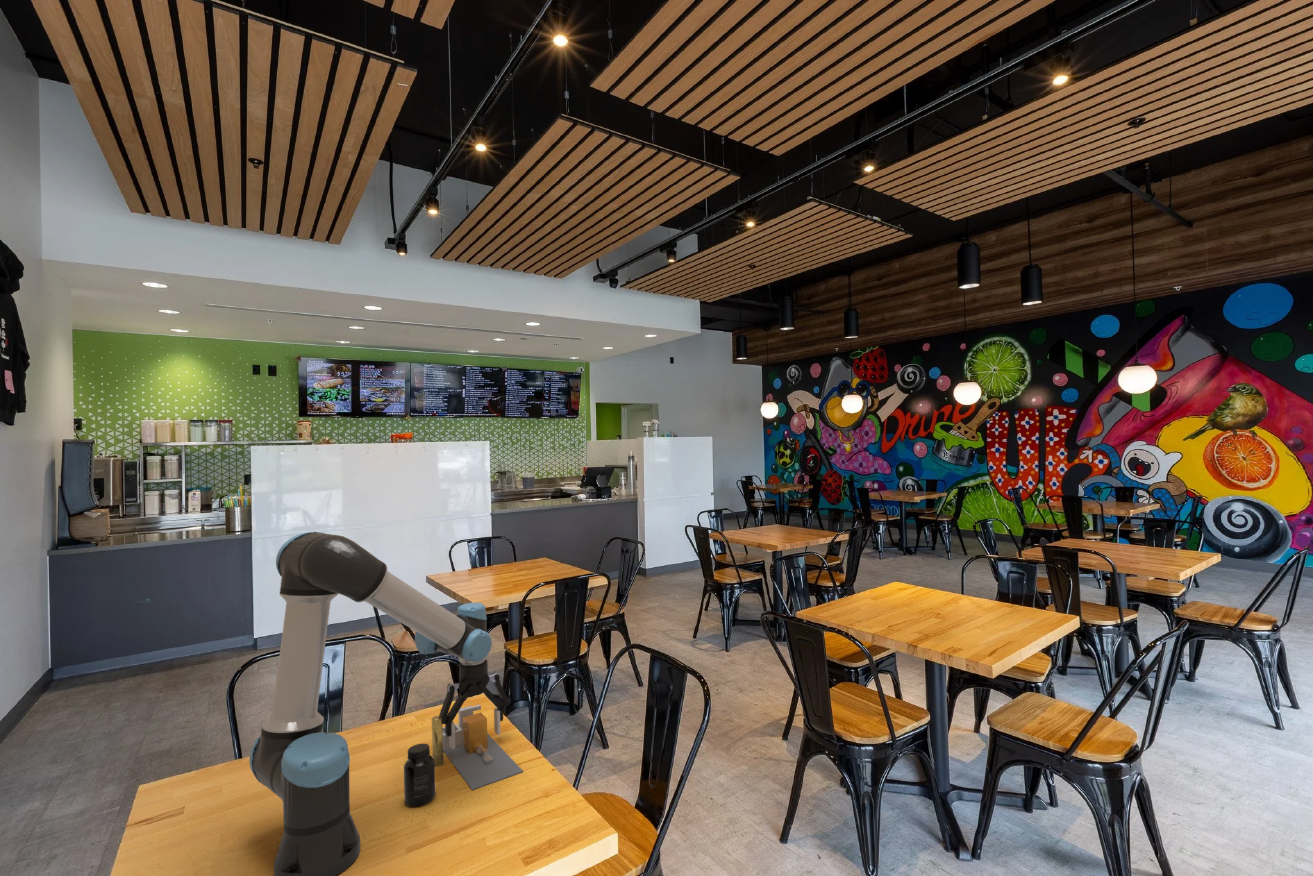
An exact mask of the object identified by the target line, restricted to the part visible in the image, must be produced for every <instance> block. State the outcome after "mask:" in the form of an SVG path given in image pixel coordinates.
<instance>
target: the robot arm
mask: <svg viewBox="0 0 1313 876" xmlns="http://www.w3.org/2000/svg"><path fill="white" fill-rule="evenodd" d="M275 557H276V558H275V567H276V570H277V573H278V574H279V575H280V577H281V580H280V587H279V596H280V597H281V598H282V599H283V600H284V601H285V602H286V604H285V610H284V611H285V613H284V618H283V627H282V634H281V635H282V636H281V642H280V648H279V649H280V650H279V656H278V665H277V672H276V680H275V681H276V682H275V688H274V695H273V703H272V709H271V710H272V712H271V716H270V717H268V719H266V720H265V721H264V722H263V723H262V724H261V730H260V731H261V733H260V735H259V736H258V737H257V738H256V739H255V741H254V743H253V745H252V747H251V749H250V753H249V767H250V770H251V773H252V774H253V776H254V777H255V779H256V781H258V782H259V783H260V784H261V785H262V786H264V787H266V788H267V789H268V790H269V791H270V792H272V793H273V794H275V795H276V796H277V797H279V798H280V799H281V801H282V813H283V832H282V836H281V840H280V843H279V846H278V849H277V852H276V854H275V855H276V856H275V859H274V862H273V876H338V875H340V874H341V873H343V872H344V871H345V870H347V869H348V868H349V867H350V866H352V865H353V863H354V862H355V861H356V860H357V859H358V857H359V854H360V852H361V836H360V834H359V831H358V829H357V826H356V824H355V821H354V818H353V816H352V814H351V801H350V797H351V796H350V794H351V791H350V761H351V757H350V756H351V754H350V752H349V745H348V741H347V740H346V738H344V736H342V735H340V734H338V733H335V732H328V733H327V732H325V731H323V729H324V722H325V721H324V719H325V718H324V716H322V715H321V713H320V712H318V706H319V699H320V691H321V682H322V674H323V666H324V656H325V650H326V649H325V648H326V642H327V641H326V640H327V632H328V626H329V625H328V624H329V616H330V609H331V602H332V601H333V600H334V599H335V598H336V597H337V596H338V595H341V596H344V597H346V598H348V599H350V600H352V601H354V602H355V603H362V602H363V603H364V602H365V603H367V604H369V605H370V606H372V607H374V608H376V609H378V610H379V611H381V612H383V614H386V615H387V616H389V617H391V618H392V619H394V620H396V621H397V622H399V623H401V624H403V626H407V627H408V628H410V629H411V630H413V631H415V633H414V643H415V647H416V649H417V651H418V652H419V653H420V654H422V655H428V654H434V653H436V652H441V653H444V654H446V655H449V656H450V655H451V656H454V657H457V658H458V661H459V663H458V669H459V671H458V672H459V676H458V677H459V680H458V682H457V683H454V684H452V683H448V684H447V690H446V694H445V698H444V700H443V704H442V707H441V709H440V712H439V714H438V716H442V725H444V727H445V733H446V735H447V737H449V746H450V747H451V748H452V749H455V724H456V723H455V722H454V720H455V719H456V716H457V714H458V711H459V710H460V708H462V706H463V705H464V703H465V702H466V701H467V699H468V698H472V697H474V696H480V695H482V693H484V695H485V696H486V697H487V698H488V699H489V700H490V701H491V702H492V703H493V705H494V706H496V708H493V718H494V719H493V722H494V723H493V727H494V728H493V729H494V734H495V735H497V736H500V735H501V722H502V721H503V720H504V710H505V708H506V707H508V706H509V705H510V701H509V698H508V696H507V694H506V692H505V690H504V688H503V685H502V684H501V681H500V674H498V673H497V672H496V671H495V672H492V674H489V673H488V672H489V671H488V670H489V668H488V667H489V664H488V659H487V658H488V656H489V653H490V651H491V650H492V645H493V641H492V638H491V635H490V634H489V633H488V632H487V631H488V630H487V629H488V628H487V627H488V626H487V625H488V623H487V619H488V617H487V611H486V610H487V609H486V606H485V604H483V603H481V602H467V603H463V604H461V605H459V606H458V608H457V612H456V614H454V613H452V612H451V611H449V610H448V609H446V608H445V607H443V606H442V605H440V604H439V603H437V602H436V601H434V600H432V599H431V598H430V597H428V596H427V595H425V594H423V593H422V592H420V591H419V590H417V589H416V588H414V587H413V586H411V585H410V584H408V583H407V582H405V581H404V580H402V579H400V578H399V577H397V576H396V575H394V574H393V573H392V572H389V570H388V564H386V563H385V562H384V561H381V560H380V559H379V558H378V557H376V556H375V555H373V554H372V553H371V552H369V551H368V550H366V549H365V548H364V547H362V546H361V545H360V544H358V543H356V542H355V541H354V540H352V539H350V538H348V537H345V536H343V535H339V534H330V533H325V532H319V531H318V532H317V531H313V532H311V531H307V532H302V533H298V534H296V535H294V536H292V537H290V538H289V539H288V540H286V541H285V542H283V544H282V545H281V547H280V548H279V550H278V551H277V555H276V556H275ZM489 682H491V683H493V685H494V687H495V690H496V692H497V694H498V696H499V698H500V700H501V702H500V701H499V700H498V699H497V698H496V697H495V696H494V694H493V693H492V692H491V691H490V690H489V689H488V688H487V686H488V684H489ZM458 689H459V690H460V691H459V693H458V695H457V698H456V700H455V701H454V697H455V694H456V693H457V692H458V691H457V690H458ZM453 701H454V703H453ZM452 703H453V705H452ZM509 707H510V706H509Z"/></svg>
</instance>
